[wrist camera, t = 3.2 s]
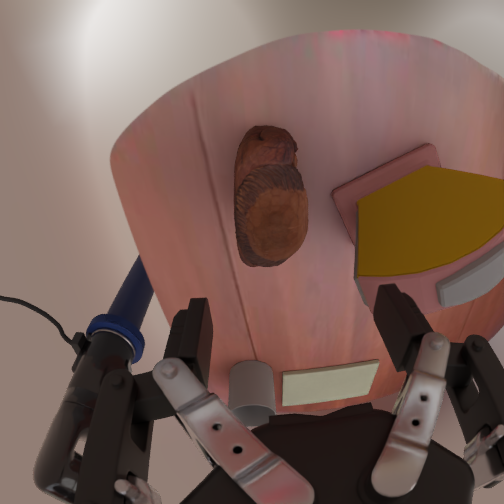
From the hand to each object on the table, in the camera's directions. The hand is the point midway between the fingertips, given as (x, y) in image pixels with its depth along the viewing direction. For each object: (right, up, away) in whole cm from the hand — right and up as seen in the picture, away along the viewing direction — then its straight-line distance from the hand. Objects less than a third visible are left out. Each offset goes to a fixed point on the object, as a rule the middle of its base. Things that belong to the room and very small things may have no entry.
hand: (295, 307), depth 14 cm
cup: (-2, -21, +42) cm, 47 cm away
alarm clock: (+18, +11, +25) cm, 33 cm away
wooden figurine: (-1, +13, +23) cm, 27 cm away
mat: (+14, -25, +45) cm, 54 cm away
